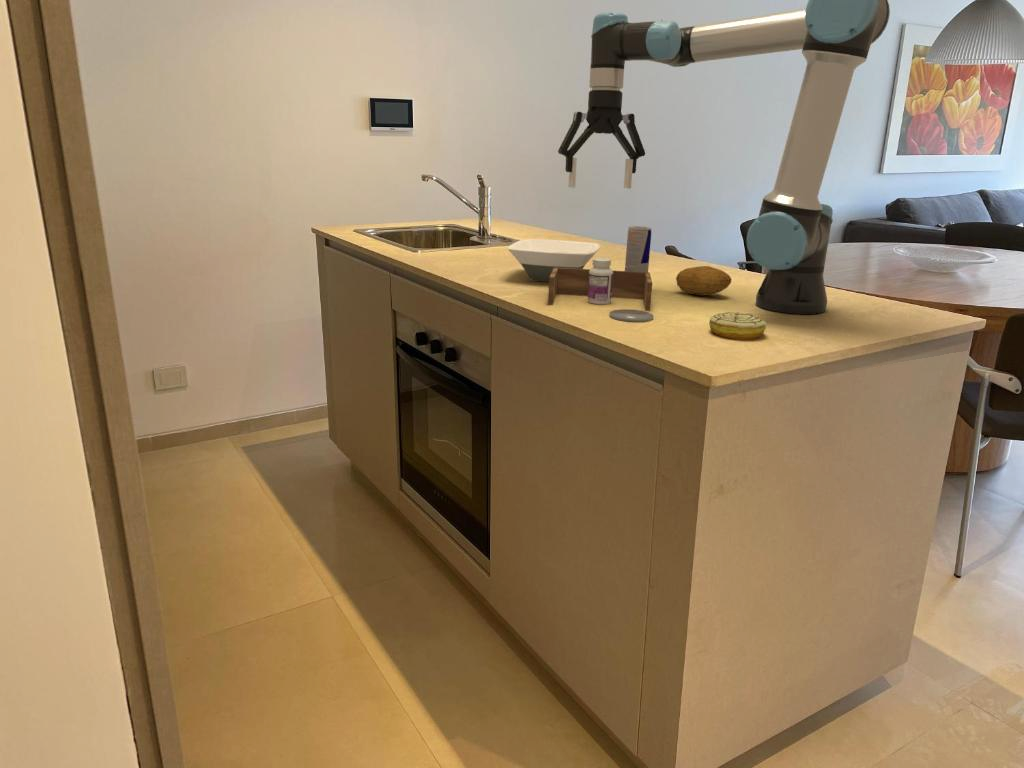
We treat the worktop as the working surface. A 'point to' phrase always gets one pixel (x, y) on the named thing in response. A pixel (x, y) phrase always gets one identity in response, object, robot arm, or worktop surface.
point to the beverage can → (638, 249)
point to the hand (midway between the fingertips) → (599, 187)
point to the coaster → (631, 315)
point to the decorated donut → (737, 325)
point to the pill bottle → (600, 281)
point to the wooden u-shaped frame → (622, 287)
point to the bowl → (551, 256)
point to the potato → (703, 280)
